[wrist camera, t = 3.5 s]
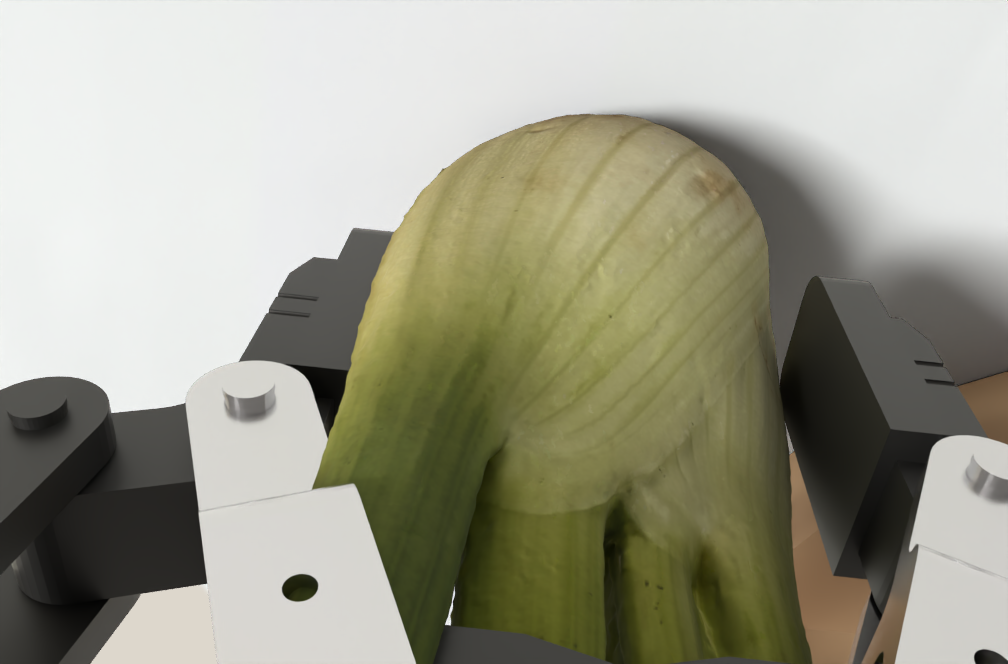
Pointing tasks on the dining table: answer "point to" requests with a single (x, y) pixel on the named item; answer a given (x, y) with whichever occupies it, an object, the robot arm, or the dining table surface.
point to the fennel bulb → (577, 403)
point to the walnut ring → (840, 600)
